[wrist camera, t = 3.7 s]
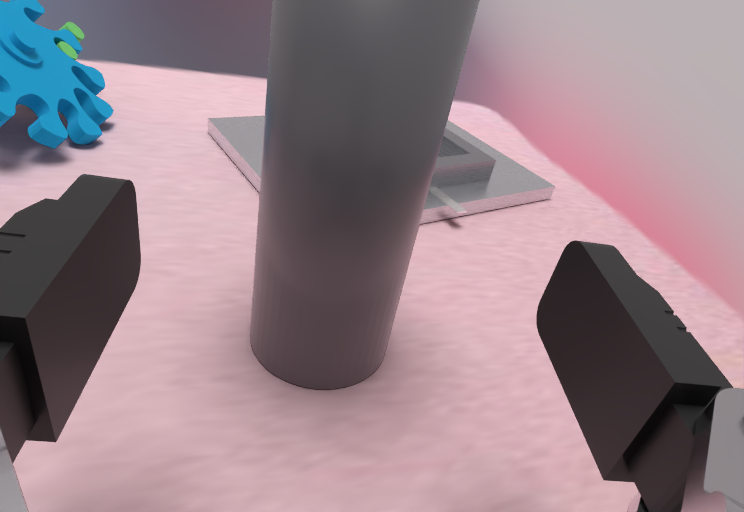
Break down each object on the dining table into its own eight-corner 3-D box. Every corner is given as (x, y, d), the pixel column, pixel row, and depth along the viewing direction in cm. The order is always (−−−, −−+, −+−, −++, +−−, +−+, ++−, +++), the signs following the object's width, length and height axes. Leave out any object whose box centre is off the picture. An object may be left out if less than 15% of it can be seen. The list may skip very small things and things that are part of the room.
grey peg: (287, 409, 15) (358, -113, 8) (229, 311, 18) (245, -136, 11) (411, 363, 18) (546, -70, 11) (342, 282, 21) (414, -99, 14)
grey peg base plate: (313, 256, 22) (319, 215, 21) (208, 132, 30) (208, 97, 29) (560, 205, 30) (574, 173, 29) (426, 118, 38) (432, 91, 37)
